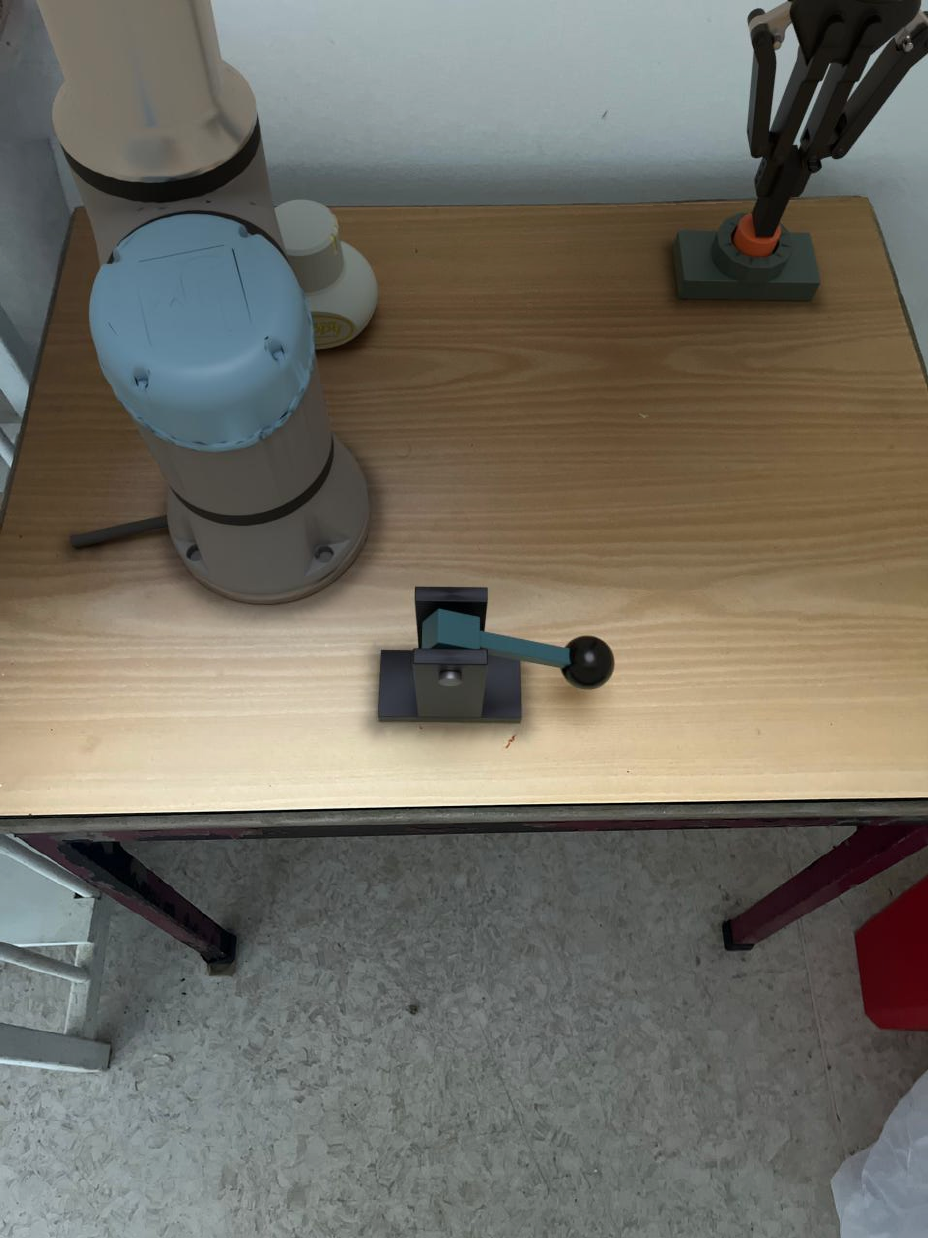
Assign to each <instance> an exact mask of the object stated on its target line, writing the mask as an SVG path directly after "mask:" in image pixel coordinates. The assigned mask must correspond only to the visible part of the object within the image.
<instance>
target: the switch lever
mask: <svg viewBox="0 0 928 1238" xmlns="http://www.w3.org/2000/svg"><path fill="white" fill-rule="evenodd" d="M422 648H428V649H487V650H488V655H493V656H499V657H504V658H509V659H515V660H520V662H525V663H531V664H536V665H542V666H547V667H552V668H556V669H557V668H558V669H559V670H560V672H561V674H562V677H563V678H564V680H565V681H566V682H567V683H568V684H569V685H571V686H572V687H573V688H575V689H578V690H583V691H593V690H597V689H598V688H601V687H603V686H604V685H605V684H607V683H608V682H609V680H610V679H611V677H612V676H613V673H614V670H615V665H616V659H615V655H614V652H613V650H612V648H611V647H610V646H609V644H608V643H607V642H606V641H605V640H603V639H602V638H599V637H598V636H595V635H579V636H577V637H575V638H573V639H570V641H569V642H567V643H566V644H565V646H559V645H554V644H549V643H543V642H540V641H539V642H538V641H534V640H529V639H523V638H519V637H515V636H509V635H504V634H500V633H495V632H491V631H490V632H489V631H486V630H485V631H480V617H477V616H472V615H467V614H462V613H457V612H453V611H448V610H443V609H438V610H437V611H435V612H434V613H433V614H432V615H431V616H430V617H428V618H427V619H426V620H425V621H424V622H423V625H422Z"/></svg>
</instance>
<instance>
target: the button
mask: <svg viewBox="0 0 928 1238" xmlns="http://www.w3.org/2000/svg"><path fill="white" fill-rule="evenodd" d="M749 213H750V214H747V215H745V216H744V217H743V218H742V219H741V220H740V222H739V225H738V227H737V230H736V233H735V235H734V238H733V245H734V246H735V247H736V249H737V250H738V251H739V252H740V253H743V254H745V255H747V256H750V257H767V256H769V255H770V254H771V253H772V252H773V250H774V248H775V246H776V243H777V241H778V239H779V237H780V234H781V227H780V224H779V225H778V227H777V229H776V232H775V234H774V236H773V237H756V235H755V229H754V223H753V218H752V212H749Z"/></svg>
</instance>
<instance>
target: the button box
mask: <svg viewBox="0 0 928 1238" xmlns="http://www.w3.org/2000/svg"><path fill="white" fill-rule="evenodd" d="M750 213H751V212H747V211H746V212H739V213H736V214H734V215H731V216H729V217H727V218H725V219H724V220H723V221H722V223H721V224H720V226H719V228H718V229H717V230H693V229H692V230H691V229H690V230H688V229H678V230H677V233H676V235H675V239H674V242H673V245H672V249H671V250H672V257H673V267H674V275H675V283H676V289H677V298H678V299H681V300H735V301H736V300H739V301H741V300H742V301H785V302H786V301H787V302H788V301H789V302H791V301H793V302H794V301H795V302H812V300H813V298H814V297H815V294H816V292H817V290H818V288H819V287H820V285H821V277H820V272H819V269H818V264H817V259H816V254H815V251H814V245H813V240H812V235H811V233H810V232H795V231H794V232H793V231H792V232H791V231H790V230H789V229H788V228H787V227H785V225H784V224H783V223H782V222H781V221H780V222H779V224H780V227H781V234H780V237H779V239H778V241H777V243H776V246H775V248H774V250H773V252H772V253H771V254H770V255H769V256H767V257H750V256H747V255H745V254H743V253H740V252H739V251H738V250H737V249H736V247H735V246H734V245H733V238H734V235H735V233H736V230H737V227H738V225H739V222H740V220H741V219H742V218H743V217H744V216H745V215H747V214H750Z"/></svg>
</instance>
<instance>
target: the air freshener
mask: <svg viewBox="0 0 928 1238" xmlns="http://www.w3.org/2000/svg"><path fill="white" fill-rule="evenodd" d="M274 209H275V214H276V218H277V221H278V225H279V228H280V232H281V236H282V239H283V243H284V246H285V250H286V254H287V257H288V261H289V264H290V267H291V269H292V271H293V273H294V274H295V276H296V279H297V281H298V283H299V286H300V288H301V289H302V290H303V292H304V295H305V297H306V300H307V303H308V306H309V309H310V312H311V316H312V321H313V327H314V336H315V340H314V344H315V350H325V349H331V348H335V347H339V346H341V345H344V344H346V343H348V342H350V341H351V340H353V339H354V338H356V337H357V336H358V335H359V334H360V333H362V331H363V330H364V329H365V328H366V327H367V326H368V325H369V322H370V321H371V319H372V318H373V316H374V314H375V311H376V308H377V304H378V299H379V287H378V282H377V278H376V275H375V272H374V270H373V268H372V267H371V264H370V263H369V262H368V260H367V259H366V258H365V257H364V255H363V254H361V252H359V251H358V250H357V249H356V248H355V247H353V246H351V245H350V244H348V243H347V242H346V241H342V240H341V233H340V227H339V223H338V219H337V217H336V215H335V214H334V213H333V211H332V210H331V209H330V208H328V207H327V206H326V205H324V204H322V203H319V202H317V201H314V200H310V199H292V200H288V201H286V202H283V203H281V204H279V205H277V206H275V207H274Z"/></svg>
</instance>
